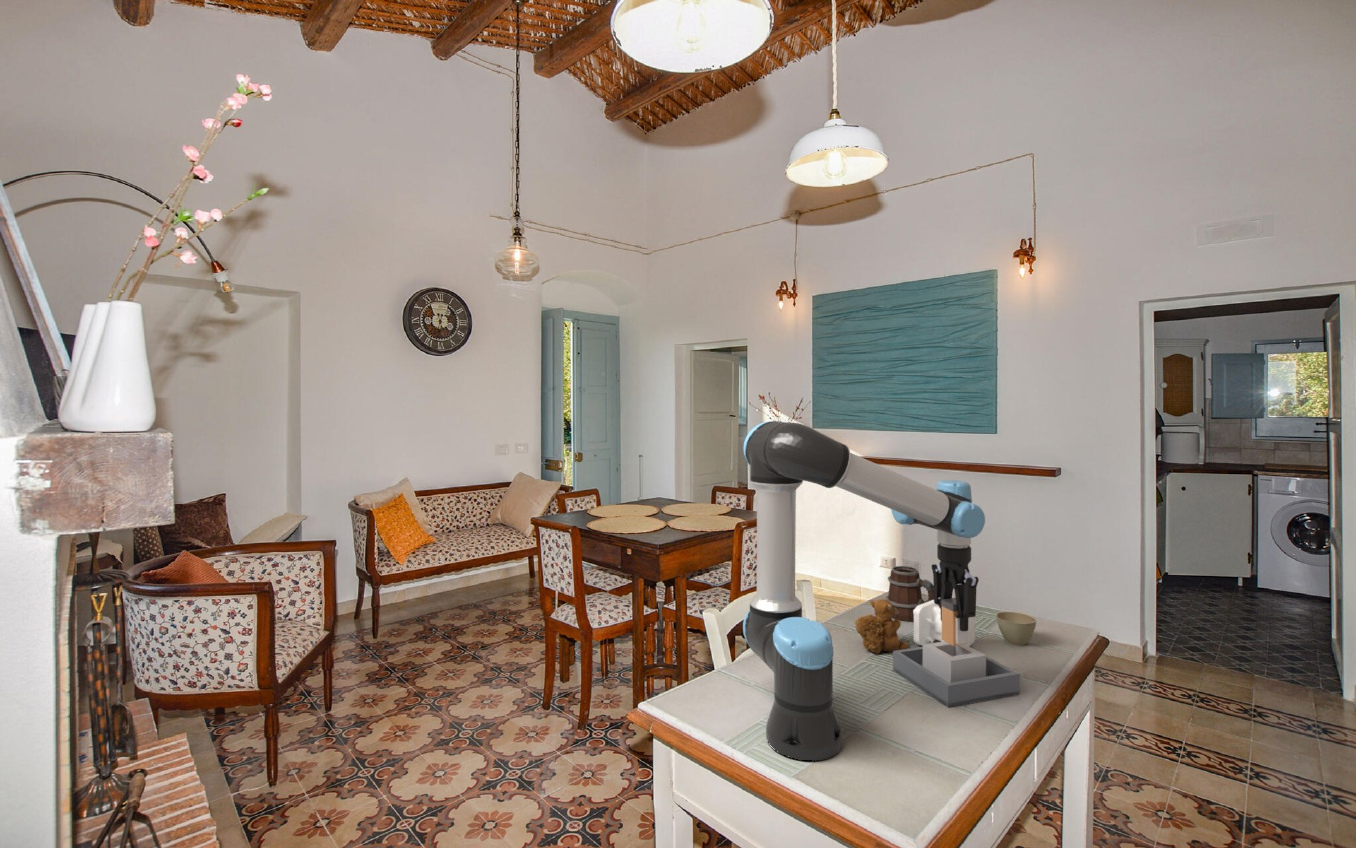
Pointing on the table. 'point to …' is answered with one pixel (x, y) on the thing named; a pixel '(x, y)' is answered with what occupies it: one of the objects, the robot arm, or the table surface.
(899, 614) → the mug
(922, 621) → the cable organizer
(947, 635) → the plug
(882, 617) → the stuffed squirrel
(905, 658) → the box
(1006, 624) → the beige bowl
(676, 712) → the table surface
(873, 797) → the table surface
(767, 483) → the robot arm
